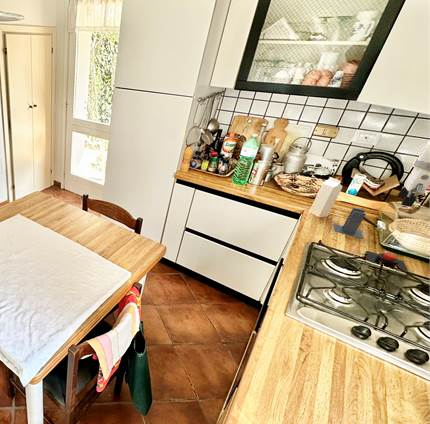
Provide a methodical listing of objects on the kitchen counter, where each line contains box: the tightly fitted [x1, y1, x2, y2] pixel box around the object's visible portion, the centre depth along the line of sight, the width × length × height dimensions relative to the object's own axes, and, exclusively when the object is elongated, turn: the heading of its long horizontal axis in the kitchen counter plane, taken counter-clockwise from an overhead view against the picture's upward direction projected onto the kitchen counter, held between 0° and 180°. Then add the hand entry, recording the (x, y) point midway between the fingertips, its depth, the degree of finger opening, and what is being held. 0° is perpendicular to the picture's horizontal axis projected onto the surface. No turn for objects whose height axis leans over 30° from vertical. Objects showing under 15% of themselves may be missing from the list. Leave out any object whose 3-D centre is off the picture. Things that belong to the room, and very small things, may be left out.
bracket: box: [333, 207, 367, 240], centre depth 151 cm, size 11×9×13 cm
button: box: [383, 252, 397, 261], centre depth 129 cm, size 4×4×2 cm
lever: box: [356, 210, 382, 232], centre depth 147 cm, size 12×5×2 cm, turn 53°
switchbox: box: [363, 250, 409, 273], centre depth 130 cm, size 12×10×4 cm
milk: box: [308, 176, 343, 218], centre depth 164 cm, size 6×6×22 cm
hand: (403, 201), depth 136 cm, fingers open, 9 cm apart
